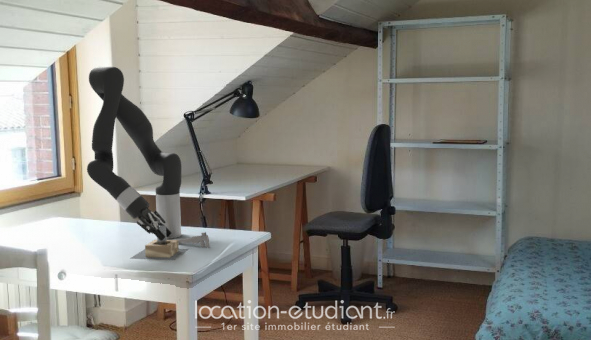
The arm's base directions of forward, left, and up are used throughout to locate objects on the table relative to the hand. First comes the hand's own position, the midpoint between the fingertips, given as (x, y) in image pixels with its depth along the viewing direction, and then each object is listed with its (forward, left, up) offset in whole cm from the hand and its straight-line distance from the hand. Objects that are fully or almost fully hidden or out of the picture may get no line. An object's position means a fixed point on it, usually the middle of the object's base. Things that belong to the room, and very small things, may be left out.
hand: (166, 236), depth 228 cm
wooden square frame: (0, -2, -6) cm, 6 cm away
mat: (0, -3, -7) cm, 7 cm away
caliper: (-14, +2, -7) cm, 16 cm away
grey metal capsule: (0, -2, -6) cm, 6 cm away
